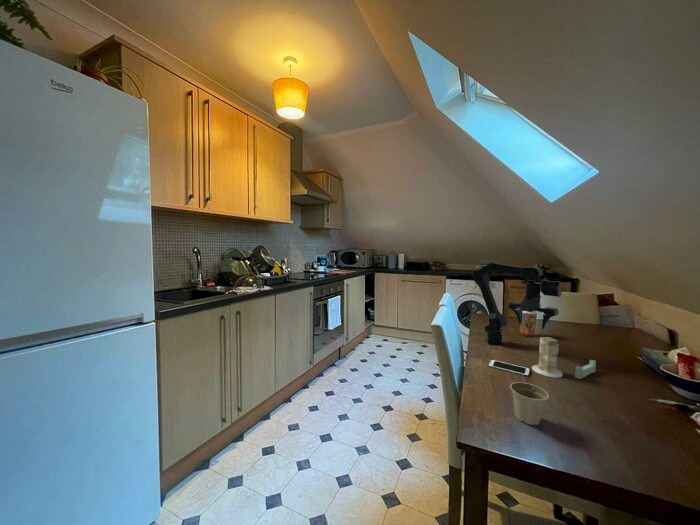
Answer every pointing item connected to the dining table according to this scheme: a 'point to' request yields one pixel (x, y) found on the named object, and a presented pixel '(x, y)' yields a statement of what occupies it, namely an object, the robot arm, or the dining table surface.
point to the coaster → (552, 375)
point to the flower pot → (528, 402)
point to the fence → (585, 370)
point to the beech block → (547, 354)
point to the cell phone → (509, 368)
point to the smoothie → (528, 323)
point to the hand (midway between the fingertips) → (531, 326)
